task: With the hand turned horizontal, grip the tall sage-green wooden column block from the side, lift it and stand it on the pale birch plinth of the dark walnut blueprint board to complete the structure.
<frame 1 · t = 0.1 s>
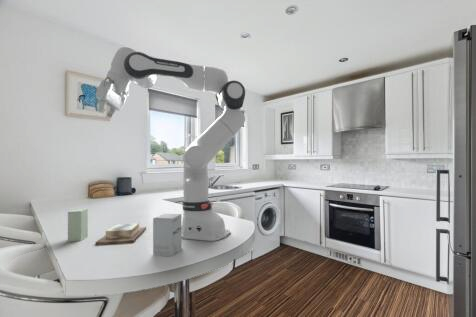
hand: (104, 114, 94), 52 cm above the breakfast bar, tool tilted 20°, fingers open, 8 cm apart
supplement box: (167, 252, 78), on the breakfast bar
column block: (77, 239, 93), on the breakfast bar
blueprint base: (123, 236, 96), on the breakfast bar
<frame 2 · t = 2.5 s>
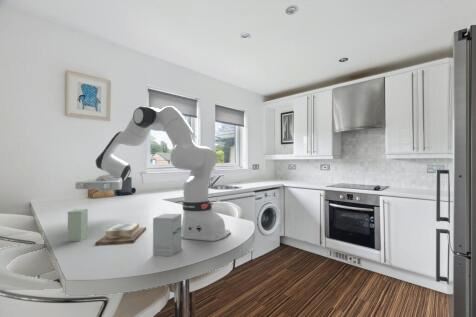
hand: (92, 186, 105), 21 cm above the breakfast bar, tool horizontal, fingers open, 8 cm apart
nothing on the breakfast bar moved.
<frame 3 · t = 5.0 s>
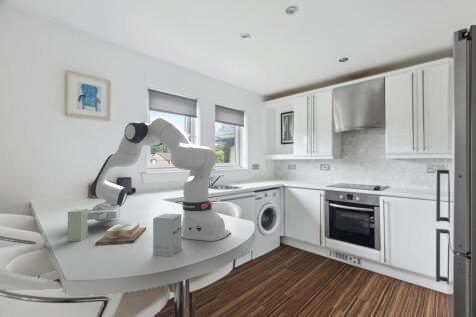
hand: (87, 218, 101), 7 cm above the breakfast bar, tool horizontal, fingers open, 8 cm apart
nothing on the breakfast bar moved.
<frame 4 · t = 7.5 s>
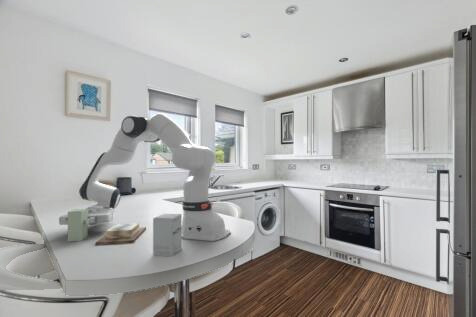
hand: (76, 222, 93), 7 cm above the breakfast bar, tool horizontal, fingers closed on column block, 5 cm apart
column block: (77, 238, 93), on the breakfast bar, touching gripper
everything else where it was.
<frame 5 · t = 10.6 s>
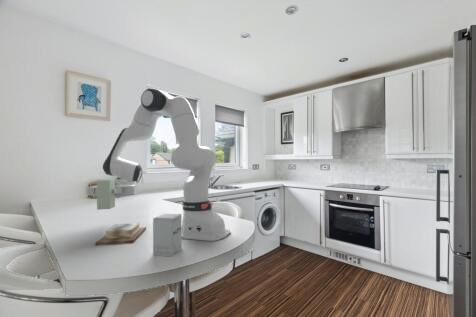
hand: (105, 191, 94), 20 cm above the breakfast bar, tool horizontal, fingers closed on column block, 5 cm apart
column block: (106, 208, 95), point 12 cm above the breakfast bar, touching gripper
everything else where it was.
when the fingers open (12 cm above the breakfast bar, at t = 13.8 s): column block drops 1 cm, resting on blueprint base.
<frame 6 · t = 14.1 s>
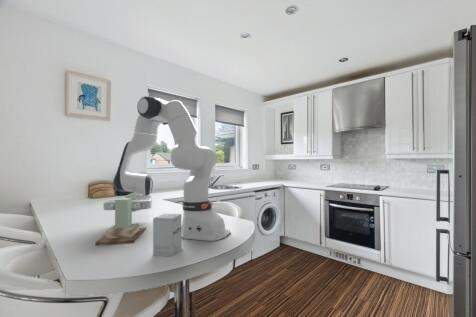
hand: (122, 207, 95), 12 cm above the breakfast bar, tool horizontal, fingers open, 7 cm apart
column block: (123, 226, 96), point 4 cm above the breakfast bar, touching blueprint base
everything else where it was.
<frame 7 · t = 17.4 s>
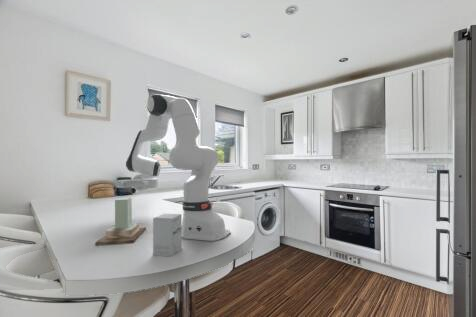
hand: (132, 184, 108), 21 cm above the breakfast bar, tool horizontal, fingers open, 8 cm apart
nothing on the breakfast bar moved.
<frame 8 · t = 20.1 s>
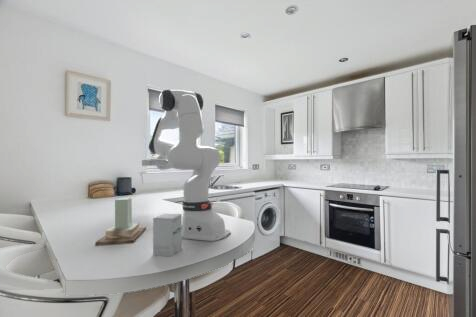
hand: (158, 162, 119), 32 cm above the breakfast bar, tool horizontal, fingers open, 8 cm apart
nothing on the breakfast bar moved.
at the end: column block 0.1 cm off-centre on the blueprint base, point 4.1 cm above the blueprint base's base; column block tilted 0°; the gripper is holding nothing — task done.
